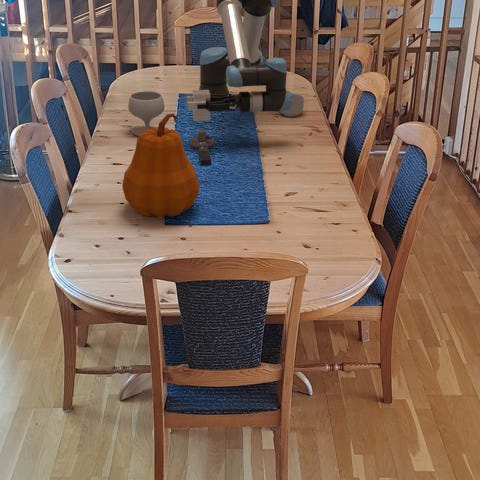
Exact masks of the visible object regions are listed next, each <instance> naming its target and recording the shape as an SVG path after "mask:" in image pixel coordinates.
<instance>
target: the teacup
mask: <svg viewBox="0 0 480 480" xmlns="http://www.w3.org/2000/svg"><path fill="white" fill-rule="evenodd" d="M291 96H292V105H291V108H290V110H288V111H280V114H282V115H283V116H284V117H288V118H294V117H297V116H299V115H300V114H301V113H302V112H303V111H304V103H305V102H304V101H305V96H304V95H302V94H299V93H296V92H291Z"/></svg>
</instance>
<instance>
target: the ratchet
mask: <svg viewBox="0 0 480 480" xmlns="http://www.w3.org/2000/svg"><path fill="white" fill-rule="evenodd" d="M214 139H215V138H213V137H211V136H207V130H206V129H197V135H196V136H192V137H191V138H189V147H190V148H191V149H192V148H193V150H195V149H197V150H196V151H198V158H199V159H200V160H199V164H201V165H200V166H212V158H211V153H210V151H209V150H212V149H213V148H214V146H215V142H214V141H215V140H214ZM208 149H209V150H208Z"/></svg>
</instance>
